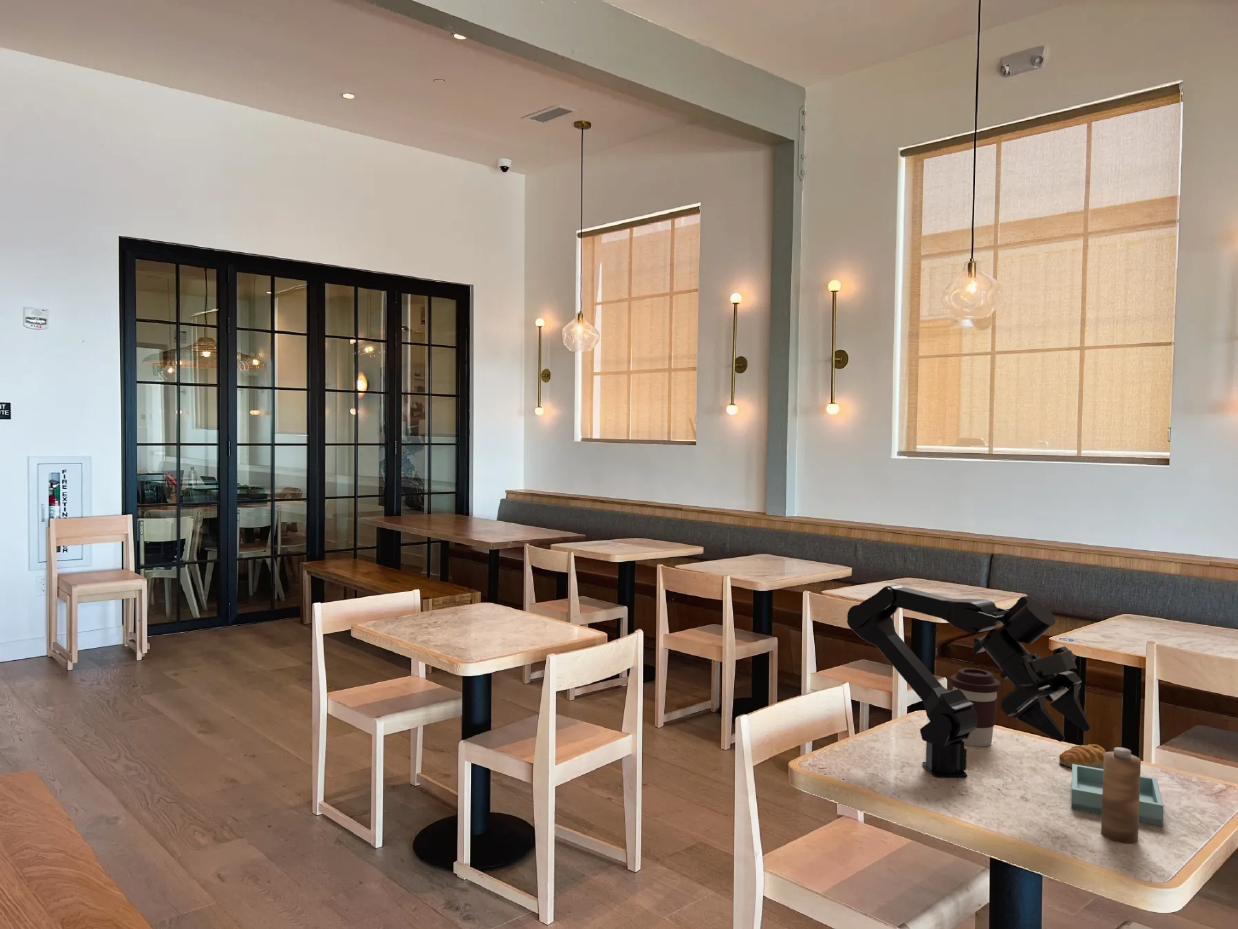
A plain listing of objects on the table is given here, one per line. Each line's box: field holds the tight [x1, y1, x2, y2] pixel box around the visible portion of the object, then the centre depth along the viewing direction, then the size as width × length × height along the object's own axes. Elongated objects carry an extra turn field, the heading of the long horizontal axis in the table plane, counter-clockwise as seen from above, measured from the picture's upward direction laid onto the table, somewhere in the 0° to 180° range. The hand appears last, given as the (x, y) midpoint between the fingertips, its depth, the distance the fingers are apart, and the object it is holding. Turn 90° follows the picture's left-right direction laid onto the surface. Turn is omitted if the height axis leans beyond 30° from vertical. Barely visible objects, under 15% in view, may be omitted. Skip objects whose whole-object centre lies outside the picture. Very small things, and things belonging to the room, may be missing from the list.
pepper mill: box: [1100, 746, 1142, 845], centre depth 141 cm, size 5×5×14 cm
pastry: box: [1058, 743, 1107, 769], centre depth 173 cm, size 9×7×4 cm
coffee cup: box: [949, 667, 1002, 748], centre depth 185 cm, size 10×10×15 cm
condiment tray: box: [1070, 764, 1164, 827], centre depth 154 cm, size 14×14×4 cm
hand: (1075, 735), depth 148 cm, fingers open, 9 cm apart
